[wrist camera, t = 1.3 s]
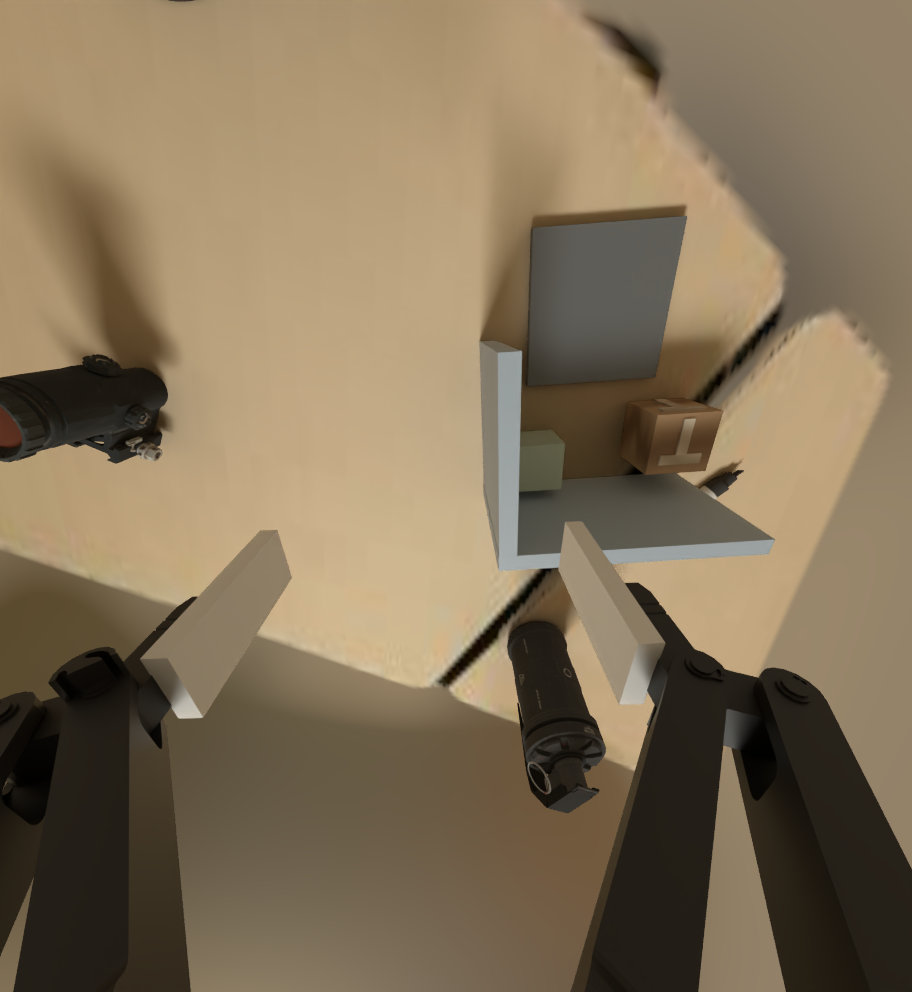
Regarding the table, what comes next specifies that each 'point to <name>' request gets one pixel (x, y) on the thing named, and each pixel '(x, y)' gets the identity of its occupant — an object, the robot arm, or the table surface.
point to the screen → (591, 497)
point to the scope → (82, 410)
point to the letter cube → (669, 435)
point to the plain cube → (540, 461)
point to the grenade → (553, 718)
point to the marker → (720, 484)
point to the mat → (600, 299)
